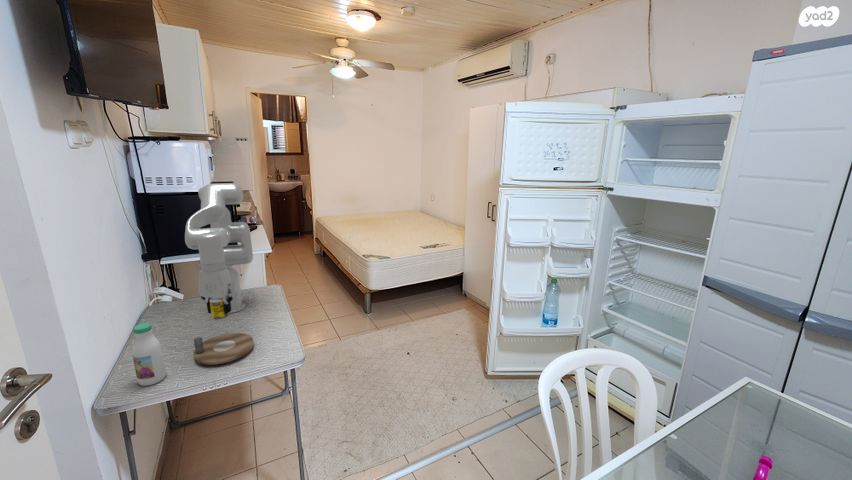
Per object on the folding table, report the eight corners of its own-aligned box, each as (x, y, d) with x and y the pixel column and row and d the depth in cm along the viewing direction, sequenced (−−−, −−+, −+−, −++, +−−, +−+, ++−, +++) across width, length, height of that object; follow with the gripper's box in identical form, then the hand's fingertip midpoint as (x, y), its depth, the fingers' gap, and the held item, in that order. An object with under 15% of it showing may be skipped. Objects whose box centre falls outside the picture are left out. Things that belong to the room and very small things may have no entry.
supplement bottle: (212, 322, 129) (208, 296, 126) (211, 316, 133) (207, 291, 131) (229, 319, 132) (226, 293, 129) (228, 313, 136) (225, 288, 134)
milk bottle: (157, 370, 124) (147, 318, 119) (171, 375, 122) (162, 322, 117) (132, 383, 117) (121, 328, 113) (147, 389, 115) (136, 333, 110)
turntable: (193, 345, 138) (190, 329, 137) (249, 331, 149) (247, 316, 147) (195, 371, 122) (192, 353, 121) (257, 353, 133) (255, 337, 131)
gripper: (183, 268, 124) (190, 315, 129) (229, 270, 123) (235, 317, 128) (198, 262, 132) (204, 306, 136) (242, 264, 131) (247, 308, 135)
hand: (219, 311), depth 132 cm, fingers closed on supplement bottle, 5 cm apart
